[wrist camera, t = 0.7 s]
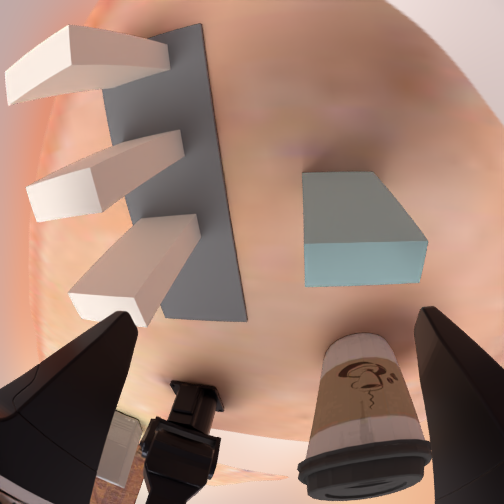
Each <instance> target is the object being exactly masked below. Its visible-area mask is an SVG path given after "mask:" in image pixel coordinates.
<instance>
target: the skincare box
mask: <svg viewBox="0 0 504 504" xmlns="http://www.w3.org/2000/svg"><path fill="white" fill-rule="evenodd" d="M141 435H142V429H141V427H140V424H139V421H138V420H136V419H134V418H131V417H129V416H126V415H124V414H122V413H119V412H117V411H115V413H114V416H113V419H112V422H111V426H110V429H109V432H108V435H107V439H106V442H105V446H104V449H103V453H102V456H101V460H100V463H99V467H98V471H97V475H96V476H97V477H98V478H100V479H102V480H105V481H107V482H110V483H112V484H114V485H117V486H119V487H122V488H125V485H126V482H127V479H128V475H129V472H130V469H131V465H132V462H133V459H134V456H135V453H136V450H137V447H138V444H139V440H140V438H141Z"/></svg>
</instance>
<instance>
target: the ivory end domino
mask: <svg viewBox="0 0 504 504" xmlns="http://www.w3.org/2000/svg"><path fill="white" fill-rule="evenodd" d="M168 70H171V68H170V60H169V53H168V45H167V44H164V43H160V42H157V41H153V40H149V39H145V38H141V37H137V36H133V35H128V34H124V33H119V32H114V31H109V30H103V29H97V28H91V27H84V26H77V25H67V26H66V27H64V28H62V29H61V30H60V31H58V32H56V33H55V34H53V35H52V36H50V37H49V38H47V39H46V40H45V41H43V42H42V43H40V44H39V45H38V46H36V47H35V48H33V49H32V50H31V51H30V52H28V53H27V54H26V55H24V56H23V57H22V58H21V59H19V60H18V61H17V62H16V63H15V64H13V65H12V66H11V67H10V68H9V69H7V70H6V71H5V80H6V93H7V101H8V106H10V105H14V104H18V103H22V102H26V101H31V100H35V99H40V98H45V97H50V96H56V95H61V94H68V93H74V92H82V91H90V90H99V89H109V88H114V87H117V86H120V85H123V84H125V83H128V82H131V81H134V80H137V79H140V78H144V77H147V76H150V75H153V74H157V73H160V72H164V71H168Z"/></svg>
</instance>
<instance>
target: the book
mask: <svg viewBox="0 0 504 504" xmlns="http://www.w3.org/2000/svg"><path fill="white" fill-rule="evenodd" d="M141 451H142V448H141V447H140V445H139V444H138V447H137V450H136V453H135V456H134V459H133V462H132V465H131V469H130V472H129V475H128V479H127V482H126V485H125V488H122V487H119V486H117V485H114V484H112V483H110V482H107V481H105V480H102V479H100V478H98V477H97V476H96V479H95V483H94V487H93V491H92V496H91V500H90V504H135V502H136V499H137V496H138V493H139V490H140V488H141V485H142V482H143V479H144V477H143V469H144V462H145V458H143V457H141V455H142V452H141Z"/></svg>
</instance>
